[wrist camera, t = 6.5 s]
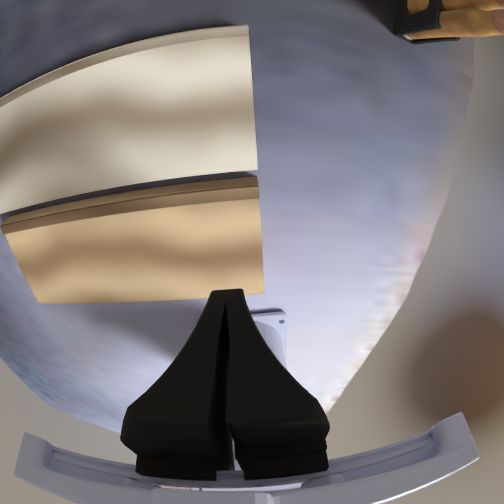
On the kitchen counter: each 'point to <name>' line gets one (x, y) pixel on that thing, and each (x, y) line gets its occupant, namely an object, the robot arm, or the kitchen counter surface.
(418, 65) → the kitchen counter surface
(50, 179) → the plank
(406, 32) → the ammunition clip
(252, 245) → the laid plank
